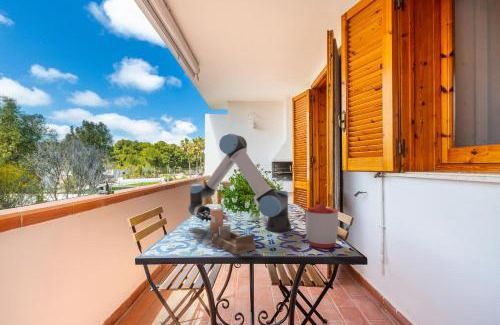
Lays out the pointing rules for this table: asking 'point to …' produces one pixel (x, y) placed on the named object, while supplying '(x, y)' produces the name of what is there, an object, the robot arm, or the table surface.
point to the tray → (236, 243)
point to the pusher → (224, 232)
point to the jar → (216, 218)
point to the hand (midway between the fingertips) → (221, 218)
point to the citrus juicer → (321, 226)
